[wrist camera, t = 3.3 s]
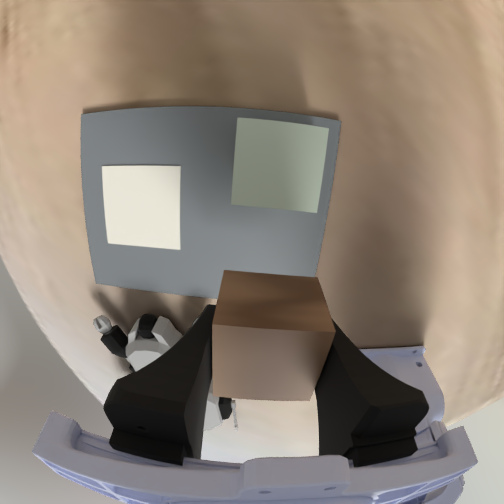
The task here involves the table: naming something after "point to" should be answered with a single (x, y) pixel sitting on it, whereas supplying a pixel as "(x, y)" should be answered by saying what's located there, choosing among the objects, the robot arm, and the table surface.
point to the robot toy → (152, 347)
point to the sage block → (278, 164)
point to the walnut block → (269, 336)
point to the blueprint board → (187, 201)
